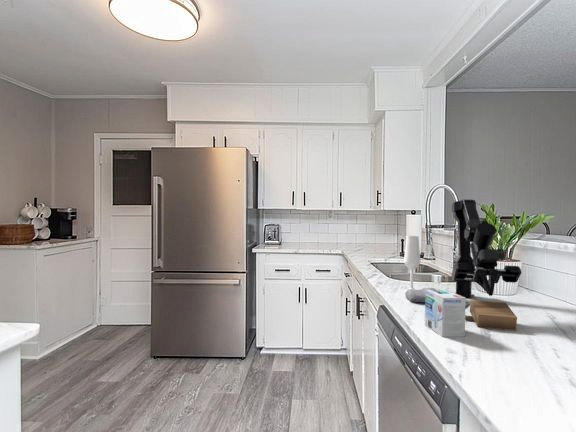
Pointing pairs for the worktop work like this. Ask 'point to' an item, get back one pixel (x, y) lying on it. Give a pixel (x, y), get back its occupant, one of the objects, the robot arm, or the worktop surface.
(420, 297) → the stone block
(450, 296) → the light bulb box
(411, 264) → the champagne flute
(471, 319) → the grey rectangular bar
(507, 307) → the light brown wooden block
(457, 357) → the worktop surface
